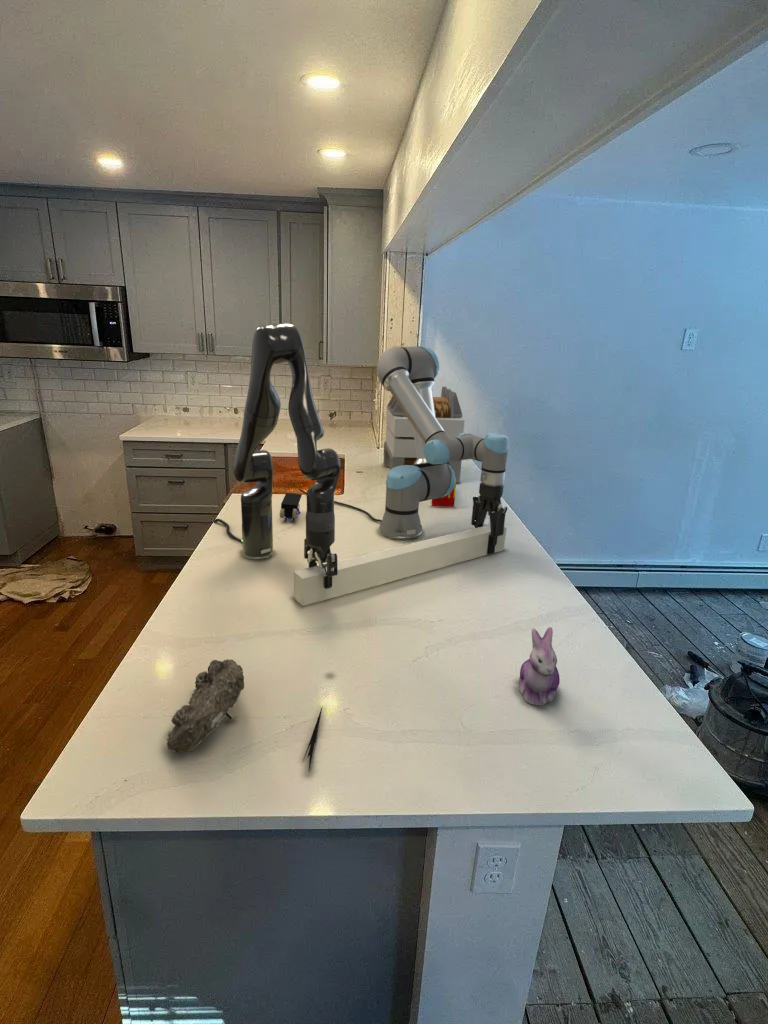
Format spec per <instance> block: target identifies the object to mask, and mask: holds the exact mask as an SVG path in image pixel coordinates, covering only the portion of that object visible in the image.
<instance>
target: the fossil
mask: <svg viewBox="0 0 768 1024" xmlns="http://www.w3.org/2000/svg"><path fill="white" fill-rule="evenodd" d="M243 670H244V669H243V667H242V665H240V664H237V662H236V661H235V660H234V659H232V658H231V659H227V658H226V659H224V660H223V661H222V660H217V659H212V660H211V661H210V663H209V665H208V666H207V671H201V672H199V673H198V674H197V675H196V676H195V680H194V684H195V685H194V687H195V689H194V690H193V693H192V694H191V697H190V698H189V700H188V704H184V705H182V706H181V707H180V709H177V710H176V711H175V713H174V715H173V716H172V718H171V723H172V724H173V727H172V730H171V731H170V732H168V734H167V738H166V741H167V742H166V745H167V749H168V750H169V751H173V752H174V753H176V754H178V753H182V752H188V751H189V752H192V751H193V750H195V748H196V747H197V746H199V744H200V743H201V742H203V741H204V740H205V739H206V738H207V737H208V736H209V735H210V734H211V733H212V732H214V730H215V729H217V727H218V726H219V724H220V722H221V721H222V720H223V719H224V718H225V716H226V717H227V719H229V720H233V717H232V715H230V714H229V710H230V709H231V708H234V706H235V704H236V703H237V702H238V699H239V697H240V695H241V693H242V691H243V690H245V689H244V688H245V675H244V671H243Z"/></svg>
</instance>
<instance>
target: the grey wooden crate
mask: <svg viewBox="0 0 768 1024" xmlns="http://www.w3.org/2000/svg"><path fill="white" fill-rule="evenodd" d="M440 393H441V394H440V396H432V398H433V404H434V411H435V418H436V419H437V421H438V422H439V424H440V425H441V427H442V428H443V430H444V431H445V433H446V434H447V435H448V437H449V438H455V437H456V436H458V435H459V434H461V433H465V432H464V431H465V430H464V429H465V419H464V418H463V411H462V408H461V405H460V402H459V398H458V395H457V392H455V391H453V390H452V389H451V388H447V386H442V387H441V392H440ZM385 414H386V415H385V423H386V428H385V438H384V442H383V466H384V467H388V468H389V470H391V469H392V468H394V467H397V466H402V465H405V466H406V465H413V466H414V463H415V462H416V460H417V454H416V447H415V441H414V434H413V427H412V424H411V422H410V421H409V419H408V418H407V416H406V415H405V413H404V412H403V410H402V409H401V407H400V406H399V404H398V403H397V401H396V400H395V398H394V397H393V395H391V398H390V400H389V402H388V404H387V405H386V413H385ZM462 461H463V460H461V461H453V462H448V463H446V464H447V465H449V466H451V468H452V469H453V471H454V473H455V474H456V484H459V483H461V472H462Z"/></svg>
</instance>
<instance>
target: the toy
mask: <svg viewBox="0 0 768 1024" xmlns="http://www.w3.org/2000/svg"><path fill="white" fill-rule="evenodd" d="M456 486H457V483H456V474H455V486H454V488H453V490H452V491H451V493H450V494H449V495H447V496H444V497H441V498H437V499H431V507H436V508H437V507H438V508H443V507H444V508H455V499H456V489H457V488H456Z"/></svg>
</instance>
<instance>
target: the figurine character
mask: <svg viewBox="0 0 768 1024" xmlns="http://www.w3.org/2000/svg"><path fill="white" fill-rule="evenodd" d="M301 499H302V493H293V492H285V495H284V496H283V499H282V500H281V503H280V512H279V518H280V519H283V522H284V523H287V520H291V523H294V522H295V520H296V519H297V518H298V516H299V515H300V514H301V511H300V508H301V507H300V502H301Z"/></svg>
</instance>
